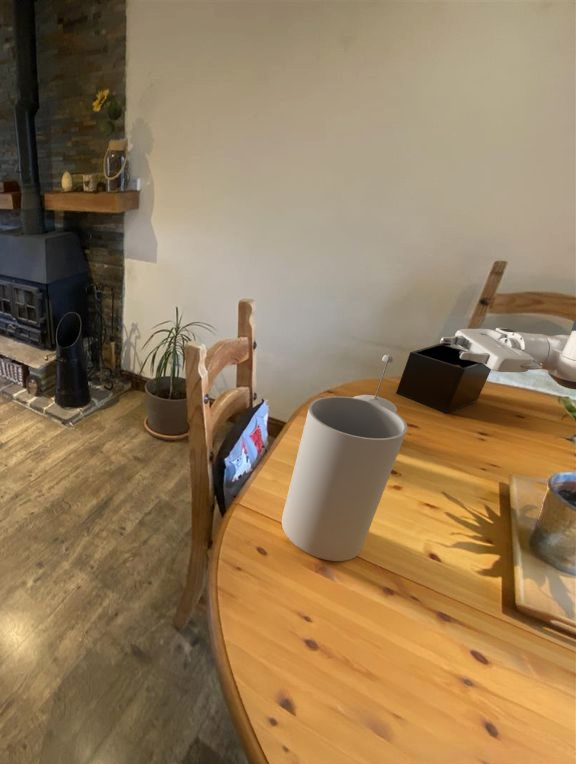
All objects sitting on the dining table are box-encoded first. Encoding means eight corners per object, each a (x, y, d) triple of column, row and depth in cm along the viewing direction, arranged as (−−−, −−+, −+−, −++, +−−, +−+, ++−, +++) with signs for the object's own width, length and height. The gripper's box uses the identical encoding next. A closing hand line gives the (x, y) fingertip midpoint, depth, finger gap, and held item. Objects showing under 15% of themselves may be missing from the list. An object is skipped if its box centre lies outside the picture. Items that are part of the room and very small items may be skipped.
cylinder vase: (361, 524, 76) (403, 406, 65) (360, 575, 67) (411, 449, 55) (285, 501, 82) (312, 390, 71) (275, 545, 73) (305, 425, 62)
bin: (476, 402, 110) (496, 359, 104) (446, 414, 106) (465, 369, 100) (424, 383, 120) (440, 343, 114) (395, 393, 116) (410, 352, 110)
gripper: (541, 381, 95) (467, 376, 99) (490, 347, 112) (428, 344, 116) (554, 356, 92) (477, 352, 96) (500, 325, 109) (436, 323, 113)
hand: (450, 347), depth 106 cm, fingers open, 8 cm apart
